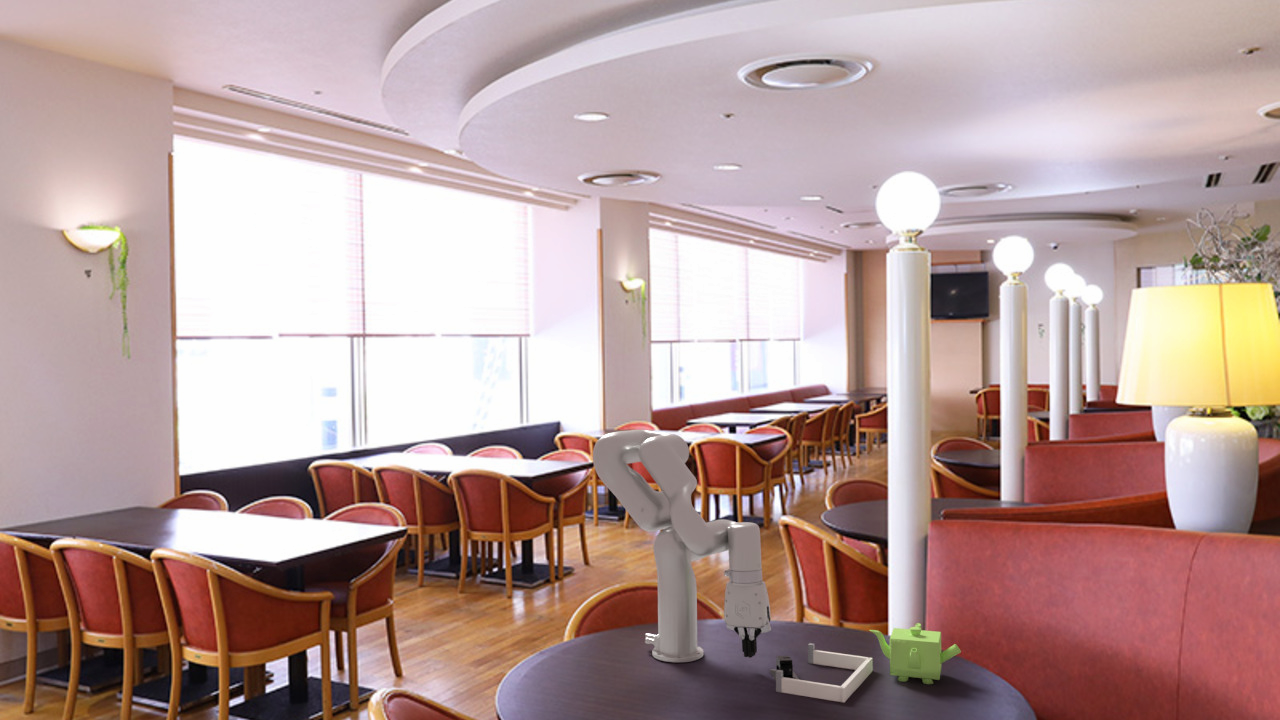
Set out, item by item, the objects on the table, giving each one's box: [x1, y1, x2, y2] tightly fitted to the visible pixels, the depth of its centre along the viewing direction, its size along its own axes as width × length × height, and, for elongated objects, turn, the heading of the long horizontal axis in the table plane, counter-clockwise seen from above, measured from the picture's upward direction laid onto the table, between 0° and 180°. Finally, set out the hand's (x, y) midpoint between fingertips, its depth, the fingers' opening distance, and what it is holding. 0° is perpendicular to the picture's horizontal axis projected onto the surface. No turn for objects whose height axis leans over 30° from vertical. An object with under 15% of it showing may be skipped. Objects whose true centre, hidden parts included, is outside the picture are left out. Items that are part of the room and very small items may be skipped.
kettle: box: [869, 622, 962, 685], centre depth 216 cm, size 15×14×11 cm
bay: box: [775, 643, 874, 703], centre depth 215 cm, size 15×23×4 cm, turn 152°
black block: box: [768, 654, 801, 682], centre depth 219 cm, size 12×7×5 cm, turn 4°
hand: (749, 655), depth 222 cm, fingers closed
